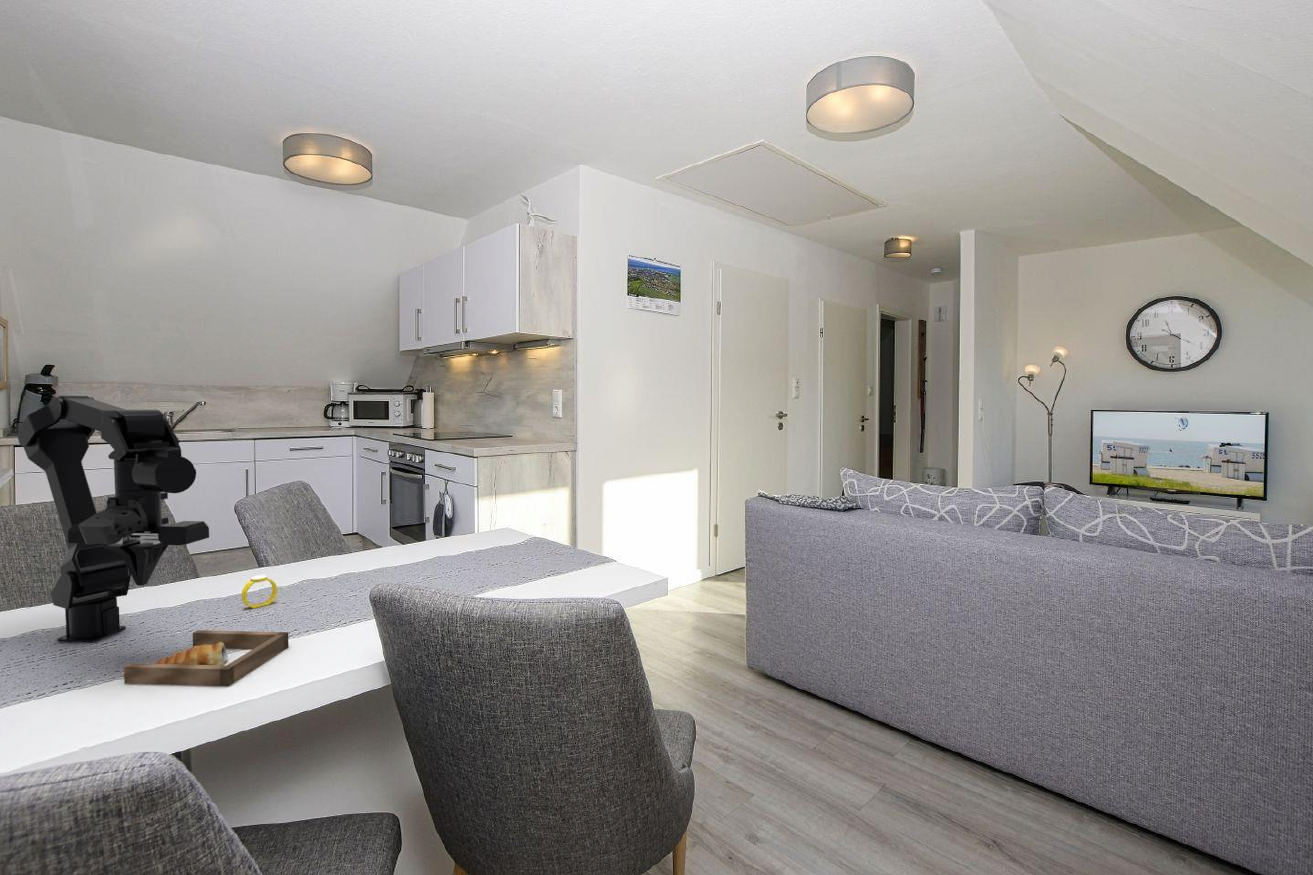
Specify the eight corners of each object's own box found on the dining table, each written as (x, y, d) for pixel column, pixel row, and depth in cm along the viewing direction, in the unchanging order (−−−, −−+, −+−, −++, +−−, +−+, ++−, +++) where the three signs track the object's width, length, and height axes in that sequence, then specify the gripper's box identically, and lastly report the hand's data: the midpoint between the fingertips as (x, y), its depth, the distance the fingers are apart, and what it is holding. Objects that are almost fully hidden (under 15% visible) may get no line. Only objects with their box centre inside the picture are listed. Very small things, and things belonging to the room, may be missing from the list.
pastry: (146, 687, 91) (145, 661, 90) (154, 670, 96) (153, 645, 96) (225, 673, 95) (224, 649, 95) (228, 658, 101) (227, 634, 101)
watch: (247, 612, 122) (244, 583, 122) (241, 609, 124) (237, 580, 123) (280, 602, 127) (277, 573, 126) (273, 599, 129) (270, 571, 128)
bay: (124, 683, 91) (123, 666, 91) (198, 644, 106) (197, 630, 105) (228, 686, 91) (228, 669, 91) (288, 646, 105) (288, 632, 105)
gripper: (29, 495, 93) (34, 599, 94) (155, 497, 93) (158, 602, 94) (98, 484, 104) (101, 578, 105) (210, 486, 104) (212, 580, 105)
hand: (141, 584), depth 102 cm, fingers closed
